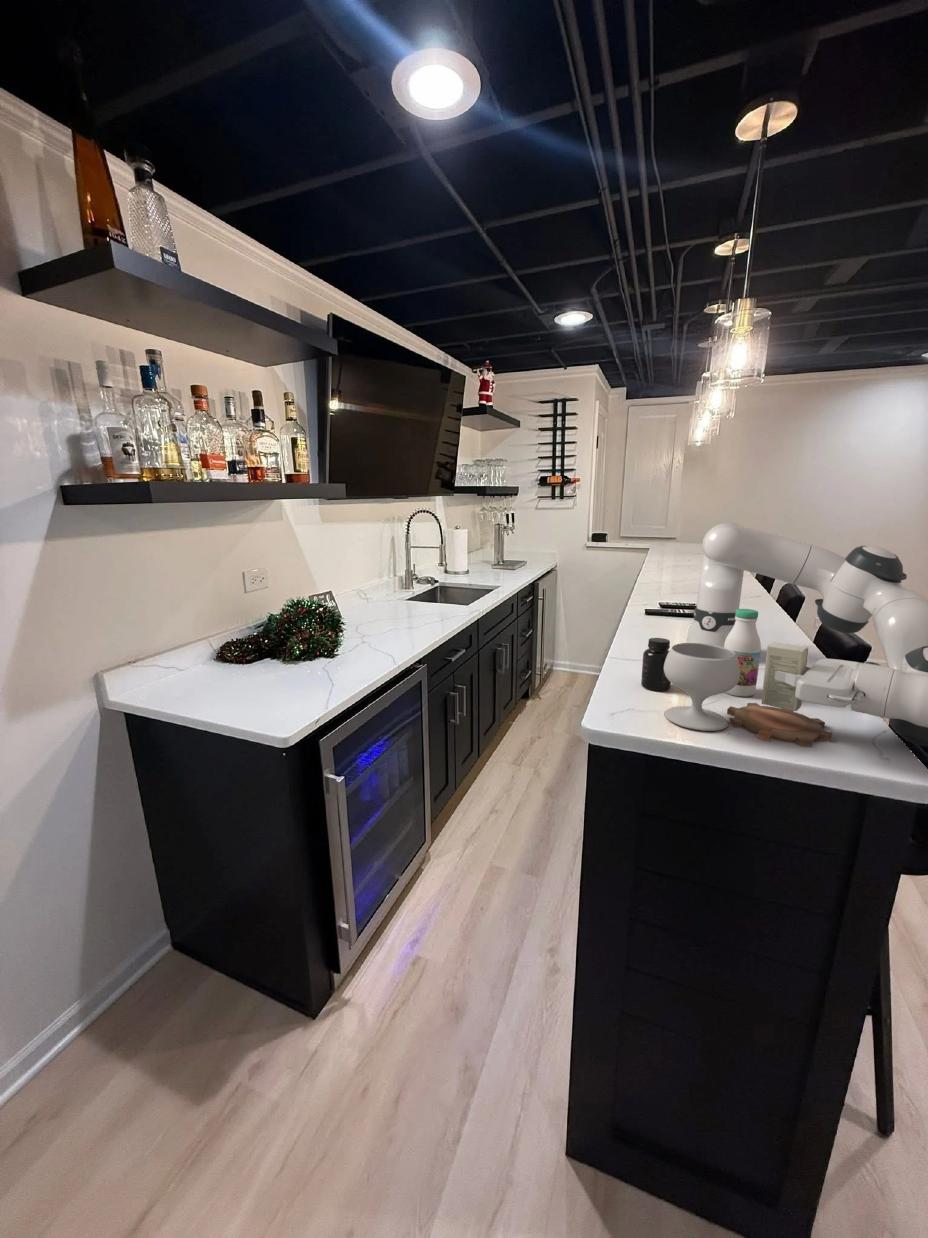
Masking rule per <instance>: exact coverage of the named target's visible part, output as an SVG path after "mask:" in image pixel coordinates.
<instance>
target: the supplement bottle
mask: <svg viewBox="0 0 928 1238" xmlns="http://www.w3.org/2000/svg"><path fill="white" fill-rule="evenodd" d="M670 644H671V641H670V640H669V639H668V638H663V637H650V638H648V644H647V647H648V648H647V649H645V650H644V651H643V654H642V664H641V665H642V668H641V682H640V683H641V687H643V688H644V689H645V690H649V691H653V692H666V691H668V690H670V689H671V686H672V683H671V682H670V681H669V680H668V679H667V677H666V676H665V672H664V663H665V660H666V657H667V655H668V653H669V651H670V649H671V646H670Z"/></svg>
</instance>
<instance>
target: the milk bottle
mask: <svg viewBox="0 0 928 1238" xmlns="http://www.w3.org/2000/svg"><path fill="white" fill-rule="evenodd" d="M758 618H759V611H758V610H756V609H750V608H739V609H737V610H736V613H735V619H736V622H735V624H734V626H733V628H732V630H731V631H730V633H729V634H728V636H727V638H726V640H725V644H724V648H726V649H729V650H731V651H733V652H734V653H735V654H736V656H737V658H738V661H739V667H740V679H739V682H738V684H737V685H736V686H735V687H734V688H733V689H731V690H729V691H727V692H724V693H723V694H727V695H731V696H733V697H742V698H743V697H744V698H747V697H753V696H754V695H755V694H756V688H757V681H758V675H759V668H760V660H761V651H762V647H761V646H762V644H761V638H760V636H759V633H758V629H757V622H758Z"/></svg>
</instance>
